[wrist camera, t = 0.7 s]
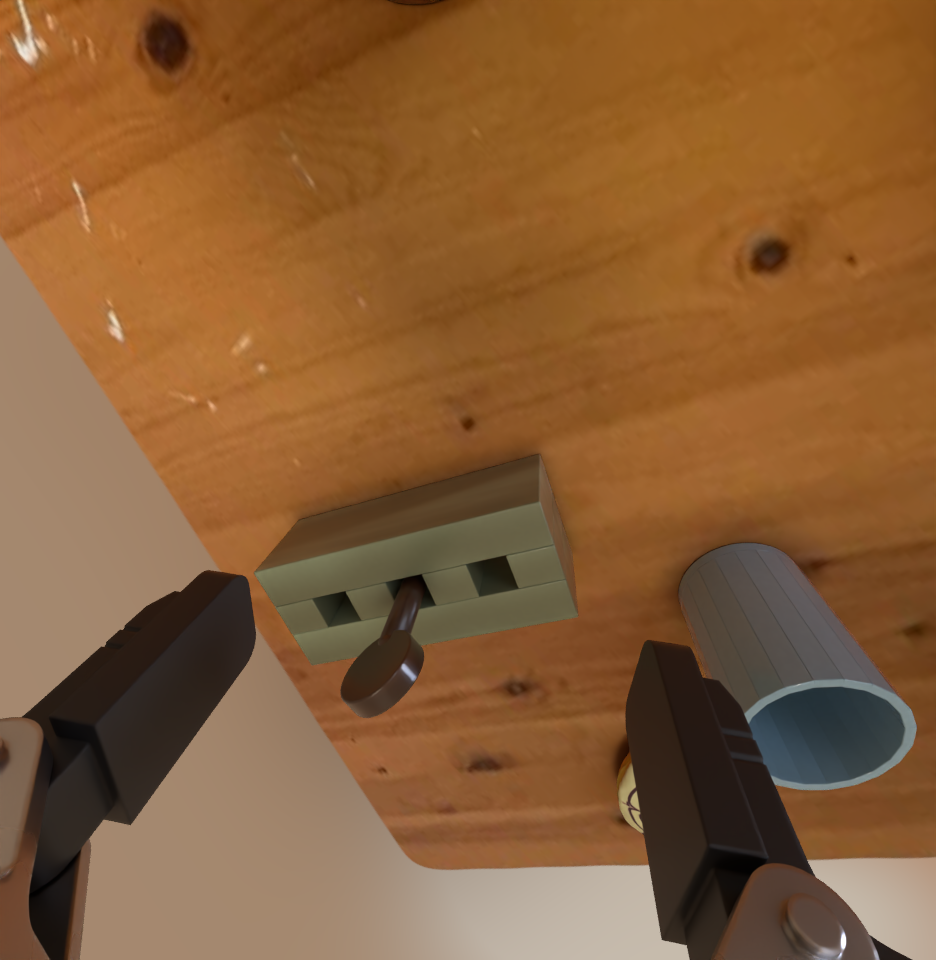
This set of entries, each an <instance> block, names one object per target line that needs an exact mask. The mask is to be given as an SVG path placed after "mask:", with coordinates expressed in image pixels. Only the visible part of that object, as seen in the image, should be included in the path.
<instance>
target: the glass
mask: <svg viewBox="0 0 936 960" xmlns="http://www.w3.org/2000/svg"><path fill="white" fill-rule="evenodd" d="M678 593H679V603H680V606H681V609H682V613H683V615H684V618H685V621H686V623H687V626H688V629H689V631H690V634H691V637H692V639H693V642H694V645H695V647H696V650H697V653H698V655H699V658H700V661H701V663H702V666H703V669H704V671H705V674H706V677H707V678H708V679H714V680H719V681H720V682H721V684H722V685H723V686H724V687H725V688H726V689H727V690H728V692H729V693H730V694H731V695H732V696H733V697H734V699H735V700H736V701H737V702H738V703H739V704H740V706H741V708H742V710H743V712H744V715H745V717H746V719H747V722H748V724H749V726H750V728H751V731H752V733H753V740H756V742H757V745H758V747H759V749H760V752H761V754H762V756H763V764H764V765H766V766H767V768H768V770H769V773H770V775H771V777H772V780H773V782H774V784H775V785H778V786H783V787H789V788H794V789H799V790H828V789H829V790H831V789H837V788H842V787H848V786H854V785H857V784H860V783H862V782H865V781H868V780H870V779H873V778H875V777H878V776H879V775H882V774H883V773H885V772H886V771H888V770H889V769H891V768H892V767H894V766H895V765H896V764H898V763H899V762H900V761H901V760H902V759H903V758H904V756H905V755H906V754H907V752H908V751H909V750H910V749H911V747H912V745H913V743H914V738H915V734H916V730H917V726H916V723H915V719H914V716H913V713H912V710H911V709H910V707H909V706H908V705H907V703H906V702H905V701H904V700H903V698H902V697H901V696H900V694H899V693H898V692H897V691H896V689H895V688H894V687H893V686H892V684H891V683H890V682H889V680H888V679H887V678H886V677H885V675H884V674H883V673H882V672H881V670H880V669H879V668H878V666H877V665H876V664H875V663H874V661H873V660H872V659H871V658H870V656H869V655H868V654H867V652H866V651H865V650H864V649H863V647H862V646H861V645H860V643H859V642H858V641H857V640H856V638H855V637H854V636H853V635H852V633H851V632H850V631H849V629H848V628H847V627H846V626H845V624H844V623H843V622H842V621H841V619H840V618H839V617H838V615H837V614H836V613H835V612H834V610H833V609H832V608H831V606H830V605H829V604H828V603H827V601H826V600H825V599H824V598H823V596H822V595H821V594H820V592H819V591H818V590H817V589H816V587H815V586H814V585H813V584H812V582H811V581H810V580H809V578H808V577H807V576H806V575H805V573H804V572H803V571H802V570H801V569H800V568H799V567H798V565H797V564H796V563H795V562H794V560H793V559H792V558H790V557H789V556H788V555H787V554H785V553H784V552H782V551H780V550H778V549H776V548H774V547H771V546H768V545H764V544H757V543H737V544H731V545H727V546H723V547H720V548H717V549H715V550H712V551H710V552H709V553H707V554H705V555H703V556H702V557H700V558H699V559H698V560H697V561H695V562H694V563H693V564H692V565H691V566H690V567H689V568H688V570H687V571H686V573H685V574H684V576H683V578H682V580H681V583H680V586H679V592H678Z"/></svg>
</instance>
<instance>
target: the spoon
mask: <svg viewBox="0 0 936 960" xmlns="http://www.w3.org/2000/svg"><path fill="white" fill-rule="evenodd" d="M426 587H427V585H426V583H425V581H424V578H423V576H422V574H419V575H415V576H410V577H406V578H404V579H403V581H402V584H401V586H400V589H399V591H398V594H397V596H396V599H395V601H394V604H393V606H392V609H391V611H390V614H389V616H388V618H387V621H386V623H385V626H384V628H383V631H382V633H381V636H380V638H378V639H377V640H375V641H374V642H373V643H372V644H370V645H369V646H368V647H367V648H366V649H365V650H364V651H363V652H362V653H361V654H360V655H359V656H358V658H357V659H356V660H355V661H354V663H353V664H352V665H351V667H350V668H349V670H348V672H347V673H346V675H345V677H344V680H343V682H342V685H341V698H342V700H343V701H344V702H345V703H346V704H347V705H348V706H349V707H350V708H351V709H352V710H353V711H354V712H355V713H356V714H357V715H358V716H360V717H363V718H371V717H374V716H377V715H379V714H382V713H383V712H385V711H387V710H388V709H389V708H391V707H392V706H393V705H395V704H396V703H397V702H398V701H399V700H400V699H401V698H402V697H403V696H404V695H405V694H406V693H407V692H408V690H409V689H410V688H411V686H412V685H413V684H414V682H415V681H416V679H417V677H418V675H419V673H420V671H421V669H422V666H423V662H424V652H423V649H422V647H421V646H420V645H419V643H418V642H417V641H416V640H415V639H414V638H413V637H412V636H411V632H412V629H413V626H414V623H415V620H416V617H417V614H418V611H419V608H420V605H421V602H422V599H423V596H424V593H425V590H426Z"/></svg>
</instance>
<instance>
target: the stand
mask: <svg viewBox="0 0 936 960" xmlns="http://www.w3.org/2000/svg"><path fill="white" fill-rule="evenodd" d="M254 574H255V576H256V577H257V579H258V581H259V582H260V584H261V585H262V587H263V588H264V590H265V592H266V593H267V595H268V596H269V598H270V600H271V601H272V603H273V604H274V606H276V609H277V611H278V613H279V614H280V616H281V617H282V619H283V621H284V622H285V624H286V625H287V627H288V628H289V630H290V632H291V633H292V634H293V636H294V638H295V639H296V641H297V643H298V644H299V646H300V647H301V649H302V651H303V652H304V654H305V655H306V657H307V658H308V660H309V662H310V663H311V665H317V664H322V663H328V662H333V661H339V660H344V659H350V658H355V657H358V656H359V655H360V654H361V653H362V652H363V651H364V650H365V649H366V648H367V647H368V646H369V645H370V644H372V643H373V642H374V641H375V640H377V639H378V638H380V636H381V633H382V631H383V628H384V626H385V623H386V621H387V618H388V616H389V614H390V611H391V609H392V606H393V604H394V601H395V599H396V596H397V594H398V591H399V589H400V586H401V584H402V581H403V579H404V578H406V577H410V576H415V575H419V574H422V576H423V578H424V581H425V583H426V585H427V587H426V590H425V593H424V596H423V599H422V602H421V605H420V608H419V611H418V614H417V617H416V620H415V623H414V626H413V629H412V632H411V636H412V637H413V638H414V639H415V640H416V641H417V642H418V643H419V645H420V646H421V645H427V644H432V643H438V642H443V641H449V640H454V639H460V638H465V637H471V636H477V635H482V634H488V633H493V632H499V631H504V630H510V629H515V628H521V627H526V626H532V625H537V624H543V623H548V622H554V621H559V620H565V619H570V618H576V617H578V607H577V597H576V586H575V576H574V566H573V556H572V551H571V548H570V545H569V542H568V539H567V536H566V533H565V530H564V527H563V523H562V521H561V517H560V514H559V511H558V508H557V505H556V502H555V499H554V496H553V493H552V489H551V486H550V483H549V480H548V477H547V474H546V471H545V468H544V465H543V461H542V458H541V455H540V454H538V455H534V456H531V457H527V458H523V459H520V460H516V461H512V462H509V463H505V464H502V465H498V466H494V467H491V468H487V469H483V470H480V471H476V472H472V473H469V474H465V475H461V476H458V477H454V478H450V479H447V480H443V481H440V482H436V483H432V484H429V485H425V486H421V487H418V488H414V489H410V490H407V491H403V492H399V493H396V494H392V495H389V496H385V497H381V498H378V499H374V500H370V501H367V502H363V503H359V504H356V505H352V506H348V507H345V508H341V509H337V510H334V511H330V512H327V513H323V514H319V515H316V516H312V517H308V518H305V519H301V520H299V521H298V522H297V523H296V524H295V525H294V526H293V527H292V529H291V530H290V531H289V532H288V533H287V534H286V536H285V537H284V538H283V539H282V540H281V541H280V543H279V544H278V545H277V546H276V547H275V548H274V550H273V551H272V552H271V553H270V554H269V555H268V557H267V558H266V559H265V560H264V561H263V562H262V564H261V565H260V566H259V567H258V568H257V569H256V571H255V572H254Z"/></svg>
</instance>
